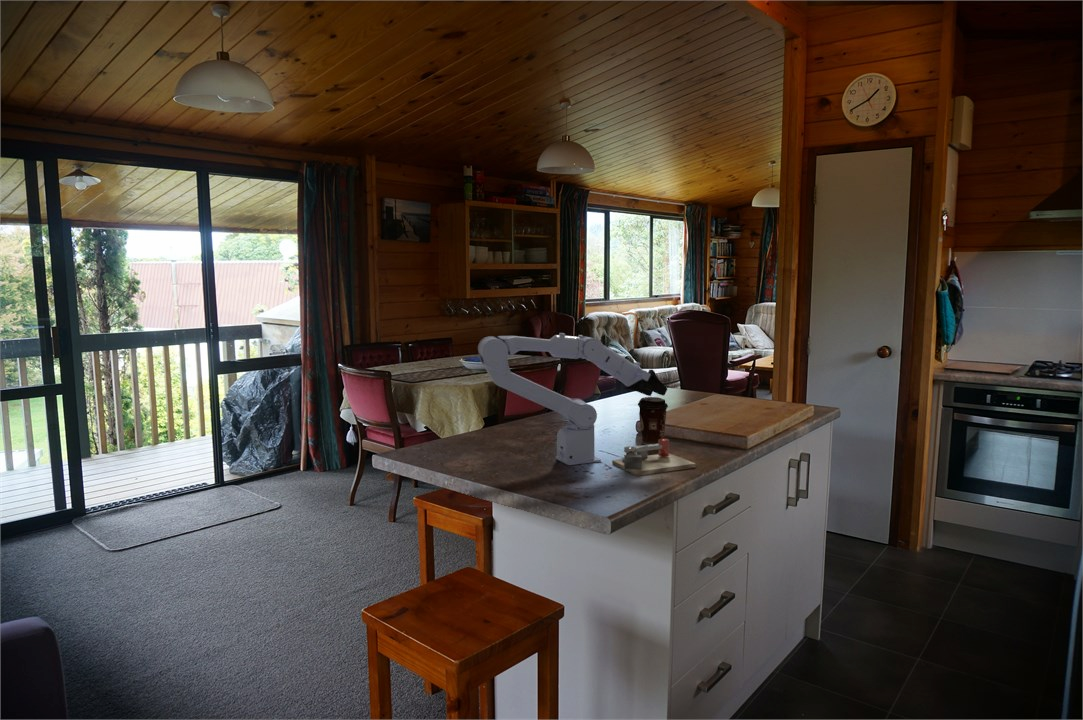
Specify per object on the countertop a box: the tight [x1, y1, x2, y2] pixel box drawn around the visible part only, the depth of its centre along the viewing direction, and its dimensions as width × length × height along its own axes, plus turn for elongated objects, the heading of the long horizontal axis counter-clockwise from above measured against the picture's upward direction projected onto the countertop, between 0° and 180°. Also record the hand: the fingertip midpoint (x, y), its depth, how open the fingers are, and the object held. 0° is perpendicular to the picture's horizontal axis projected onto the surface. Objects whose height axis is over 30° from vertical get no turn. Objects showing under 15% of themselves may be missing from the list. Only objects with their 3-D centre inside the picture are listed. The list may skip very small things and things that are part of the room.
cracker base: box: [611, 452, 697, 477], centre depth 177 cm, size 18×12×4 cm, turn 113°
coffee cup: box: [637, 396, 669, 445], centre depth 201 cm, size 9×8×13 cm
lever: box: [623, 438, 670, 460], centre depth 180 cm, size 13×3×4 cm, turn 113°
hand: (658, 392), depth 187 cm, fingers open, 7 cm apart
